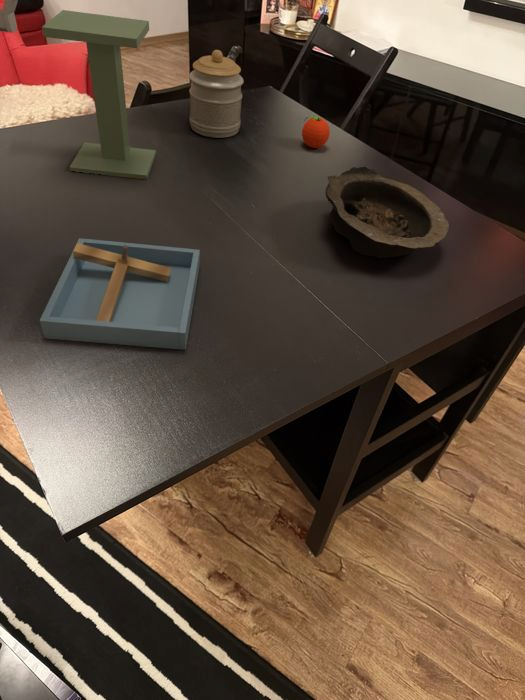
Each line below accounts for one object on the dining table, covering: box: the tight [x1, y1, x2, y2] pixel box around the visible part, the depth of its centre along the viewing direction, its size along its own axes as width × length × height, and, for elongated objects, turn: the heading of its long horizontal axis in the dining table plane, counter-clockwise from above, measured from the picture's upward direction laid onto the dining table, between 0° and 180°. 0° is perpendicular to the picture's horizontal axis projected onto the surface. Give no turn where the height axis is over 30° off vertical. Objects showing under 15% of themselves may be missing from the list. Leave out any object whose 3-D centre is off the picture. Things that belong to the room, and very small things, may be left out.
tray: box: [39, 237, 201, 351], centre depth 75 cm, size 20×20×4 cm
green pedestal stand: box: [41, 9, 157, 181], centre depth 96 cm, size 16×12×26 cm
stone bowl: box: [325, 166, 450, 259], centre depth 93 cm, size 25×25×9 cm
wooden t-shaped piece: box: [72, 242, 171, 322], centre depth 72 cm, size 15×15×4 cm
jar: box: [188, 49, 245, 139], centre depth 116 cm, size 13×13×18 cm
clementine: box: [301, 115, 331, 149], centre depth 119 cm, size 8×7×7 cm
